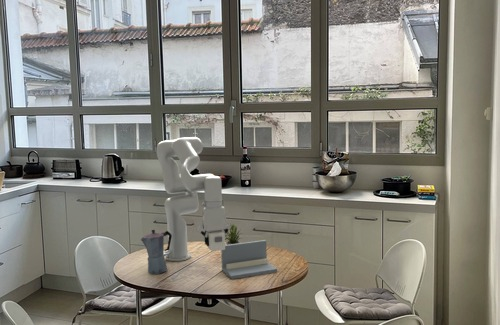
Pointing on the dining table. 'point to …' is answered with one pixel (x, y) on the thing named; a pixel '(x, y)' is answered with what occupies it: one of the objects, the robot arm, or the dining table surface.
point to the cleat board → (246, 259)
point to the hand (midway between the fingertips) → (214, 244)
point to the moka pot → (156, 251)
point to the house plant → (233, 235)
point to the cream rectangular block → (216, 240)
